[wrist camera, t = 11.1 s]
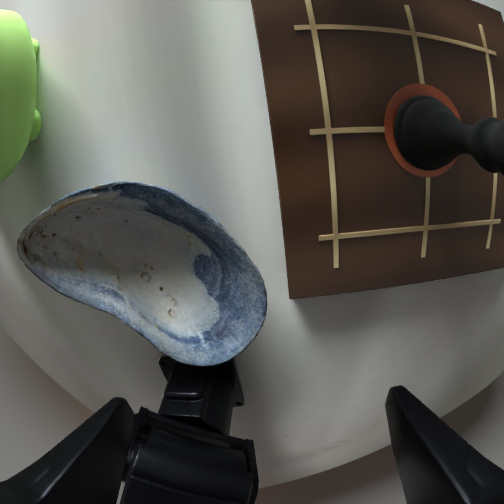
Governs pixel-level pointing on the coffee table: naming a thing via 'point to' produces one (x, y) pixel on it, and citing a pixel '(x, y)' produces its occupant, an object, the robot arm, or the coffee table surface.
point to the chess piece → (446, 136)
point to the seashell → (150, 268)
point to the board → (379, 139)
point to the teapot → (16, 90)
